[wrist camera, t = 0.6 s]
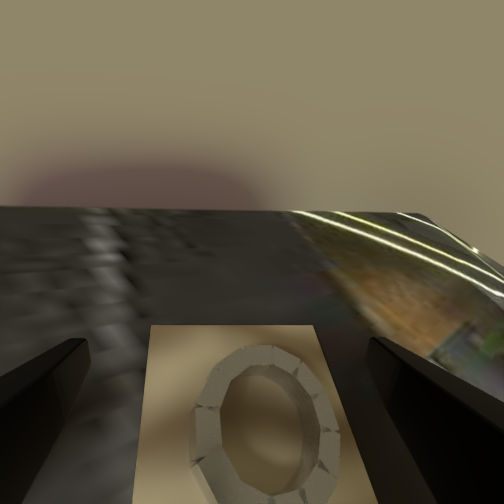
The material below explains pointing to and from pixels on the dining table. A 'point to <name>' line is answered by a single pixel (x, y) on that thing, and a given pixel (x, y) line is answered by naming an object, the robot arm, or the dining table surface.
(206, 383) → the steel ring collar
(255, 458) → the birch base plate
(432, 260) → the dining table surface
